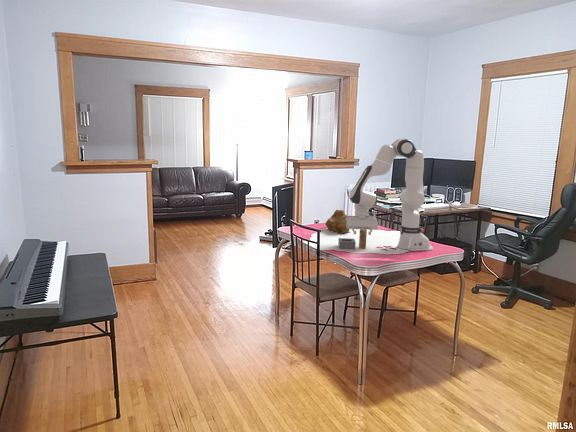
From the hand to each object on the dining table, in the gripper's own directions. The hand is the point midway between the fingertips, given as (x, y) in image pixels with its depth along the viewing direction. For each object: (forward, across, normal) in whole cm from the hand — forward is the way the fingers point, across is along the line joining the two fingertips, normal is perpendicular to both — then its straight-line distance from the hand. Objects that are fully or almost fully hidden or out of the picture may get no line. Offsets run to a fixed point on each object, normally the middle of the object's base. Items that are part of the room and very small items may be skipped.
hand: (362, 234), depth 275 cm
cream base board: (+8, -5, +6) cm, 11 cm away
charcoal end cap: (+8, -10, +5) cm, 13 cm away
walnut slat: (+7, 0, +5) cm, 9 cm away
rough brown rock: (-30, -13, +45) cm, 56 cm away
